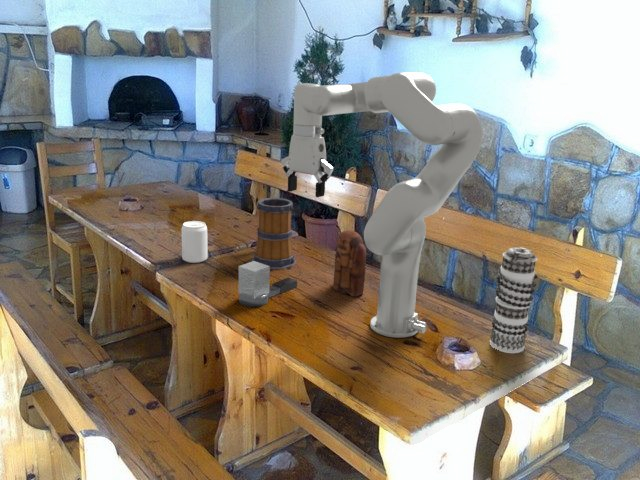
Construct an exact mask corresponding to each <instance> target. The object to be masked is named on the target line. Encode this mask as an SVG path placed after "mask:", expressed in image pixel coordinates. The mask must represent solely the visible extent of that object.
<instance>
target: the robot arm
mask: <svg viewBox="0 0 640 480" xmlns="http://www.w3.org/2000/svg"><path fill="white" fill-rule="evenodd" d="M436 94H437V87H436V84H435V81H434V80H433V78H432V77H431V76H430V75H429V74H426V73H424V72H420V71H418V72H417V71H414V72H413V71H412V72H410V71H409V72H395V73H393V74H390V75H383V76H373V77H371V78H369V79H368V80H367V81H362V82H356V83H345V84H344V83H342V84H340V83H337V84H327V85H326V84H325V85H321V84H317V83H310V82H309V83H297V84H296V85H295V87H294V92H293V133H292V134H291V138H290V143H289V151H288V156H285V157H284V158H281V159H280V162H281V165H282V169H283V171H284V172H285V176H286V177H287V192H294V191H297V189H298V175H296V174H297V173H298V174H299V173H300V174H305V175H311V176H314V178H315V179H316V181H317V182H316V183H315V197H316V198H321V197H323V196H325V192H326V182H327V181H328V180H329V179H331V178H330V177H332V176H331V175H332V173H333V172H334V167H333V166H332V165H331V164H330V163H328V161H327V150H326V142H325V137H324V136H322V135H323V134H324V133H325V129H324V128H322V127H323V126H322V123H323V117H325V116H334V115H343V114H352V113H361V112H363V113H364V112H372V113H373V114H381V113H390V114H391V115H392V116H393V118H395V119H396V120H397V122H398V123H400V124H401V126H403V127H404V128H405V129H406V130H407V131H408V132H409V133H410V134H411V135H412V136H413V137H414V138H415V139H417V140H418V141H419V142H420V143H423V144H425V145H428V146H439V145H441V146H440V147H439V148H438V149H437V150H436V151H435V152H434V153H433V154H432V155H431V156H430V158H429V159H428V161H427V162H426V164H425V165H424V166H423V168H422V169H421V171H420V172H419V173H418V175H416V176H415V177H413V178H411V179H408V180H407V179H406V180H404V181H401V182H398V183H396V184H395V185H393V186H392V187H391V188H390V189H389V190H388V191H386V193H385V194H384V196H383V197H382V199H381V201H380V202H379V204H378V205H377V207H376V208H375V210H374V211H373V213H372V214H371V216H370V218H369V219H368V221H367V222H366V225H365V228H364V231H363V242H364V245H365V247H366V249H368V250H369V251H370V252H371V253H372V254H375V255H377V256H381V261H380V271H379V273H380V274H379V283H378V284H379V286H378V287H379V288H378V297H377V311H376V315H375V316H373V317H372V318H371V319H370V322H369V324H370V325H369V326H370V329H371V330H373V332H375V333H376V334H378V335H382V336H385V337H389V338H393V339H394V338H395V339H396V338H398V339H400V338H409V337H413V336H415V335H417V334H418V333H421V334H424V333H425V332H426V331H427V322H425V321H422V320H420V319H418V318H419V313H417V312H415V309H416V302H417V301H416V299H417V291H418V290H417V289H418V288H417V287H418V278H419V271H420V261H421V253H422V249H423V247H424V243H425V238H426V234H427V233H426V232H427V225H426V221H425V219H426V218H427V217H430V216H432V215H434V214H436V213H437V212H438V211H439V210H440V209H441V207H442V206H443V205H444V204H445V202H446V201H447V199H448V198H449V196H450V195H451V193H452V192H453V191H454V190H455V188H456V187H457V185H458V184H459V183H460V180H461V179H462V178H463V176H464V175H465V174H466V173H467V171H468V170H469V169H470V167H471V166H472V164H473V163H474V161H475V160H476V158H477V156H478V154H479V152H480V149H481V147H482V141H483V128H482V127H483V126H482V122H481V120H480V117H479V115H478V114H477V112H476V111H475V110H474V109H473V108H472V107H470V106H468V105H466V104H464V103H463V104H462V103H456V102H455V103H454V102H453V103H445V104H444V103H443V104H438V105H437V104H435V103H434V102H433V101H434V99H435V96H436Z"/></svg>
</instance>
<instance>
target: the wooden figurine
mask: <svg viewBox="0 0 640 480" xmlns="http://www.w3.org/2000/svg"><path fill="white" fill-rule="evenodd" d="M336 241H337V243H336V248H337V249H336V252H335V254H334V256H335V257H334V270H333V271H334V272H333V282H332V283H333V284H332V285H333V289H334V290H335V291H336V292H340V293H342V294H344V295H350V296H352V297H358V296H360V295H363V294H364V288H365V283H366V282H365V279H366V266H367V265H366V263H367V247H366V245H365V243H364V239H363V238H362V236H361V235H360V234H359V233H358V232H357V231H354V230H350V229H347V230H344V231H341V232H340V233H339V234H338V239H337V240H336Z"/></svg>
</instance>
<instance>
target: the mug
mask: <svg viewBox="0 0 640 480" xmlns="http://www.w3.org/2000/svg"><path fill="white" fill-rule="evenodd" d="M256 204H257V205H256V209H257V210H258V227H257V229H256V230H257V231H256V233H257V234H256V235H257V238H256V239H257V240H256V246H255V248H256V249H255V251H254V253H253V257H252V258H251V262H252V261H256V262H259V263H262V264H265V265H268V266H270V270H283V269H287V268H291V267H293V266H294V265H296V264H297V263H296V262H297V261H296V258H295V253H294V251H293V243H292V236H293V230H292V211H293V209H294V203H293V202H292V200H289V199H287V198H282V197H281V198H280V197H267V198H262V199H259V200H258V201H257V203H256Z"/></svg>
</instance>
